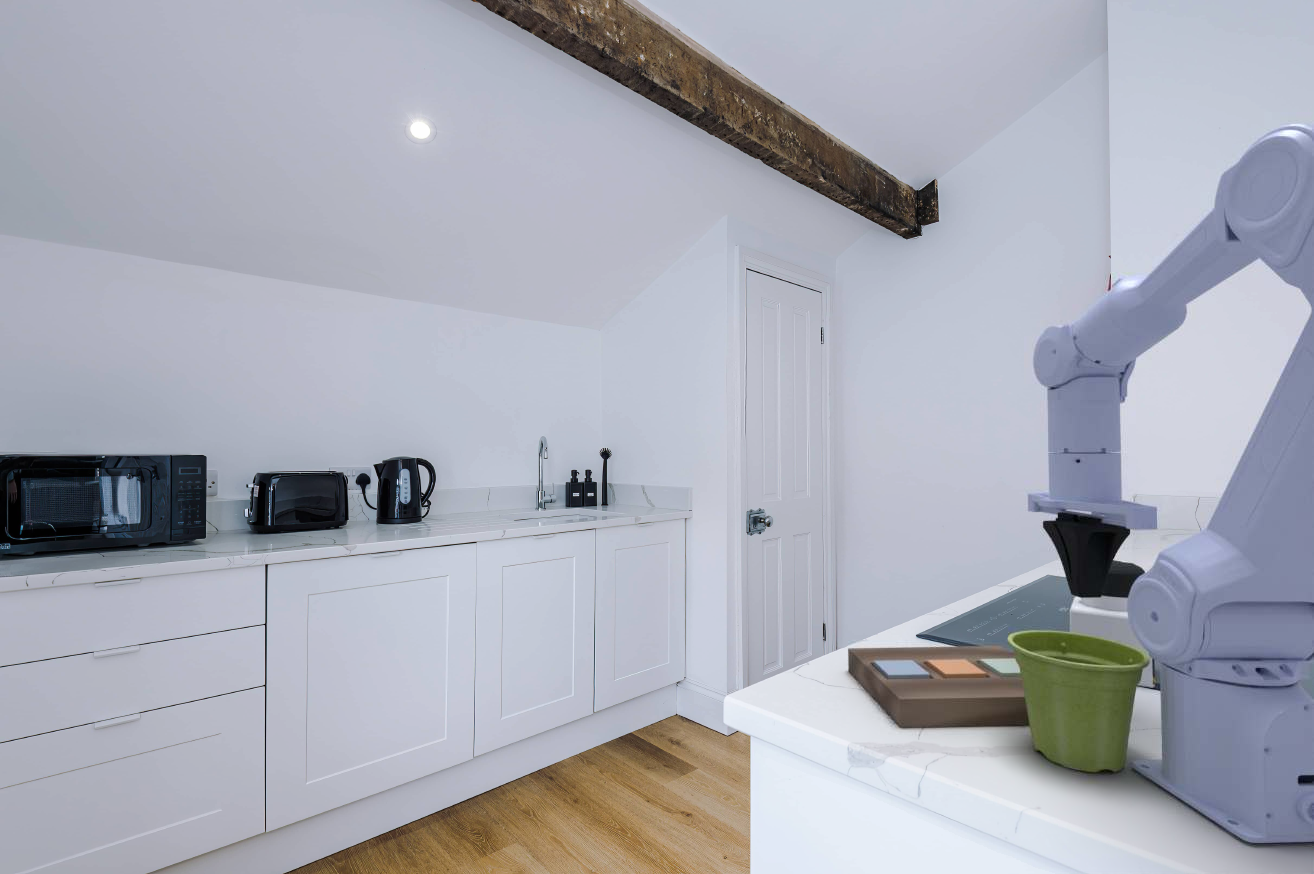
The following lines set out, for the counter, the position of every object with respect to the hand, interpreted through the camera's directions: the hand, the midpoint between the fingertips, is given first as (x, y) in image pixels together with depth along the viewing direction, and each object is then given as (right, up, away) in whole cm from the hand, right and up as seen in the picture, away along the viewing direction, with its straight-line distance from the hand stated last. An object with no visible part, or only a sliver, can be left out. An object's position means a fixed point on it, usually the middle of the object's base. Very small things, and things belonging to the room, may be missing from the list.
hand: (1086, 595), depth 59 cm
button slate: (-16, -10, +3) cm, 20 cm away
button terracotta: (-11, -10, +3) cm, 15 cm away
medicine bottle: (+9, -11, +9) cm, 16 cm away
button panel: (-11, -11, +3) cm, 15 cm away
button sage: (-5, -10, +3) cm, 12 cm away
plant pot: (-7, -11, -9) cm, 16 cm away
